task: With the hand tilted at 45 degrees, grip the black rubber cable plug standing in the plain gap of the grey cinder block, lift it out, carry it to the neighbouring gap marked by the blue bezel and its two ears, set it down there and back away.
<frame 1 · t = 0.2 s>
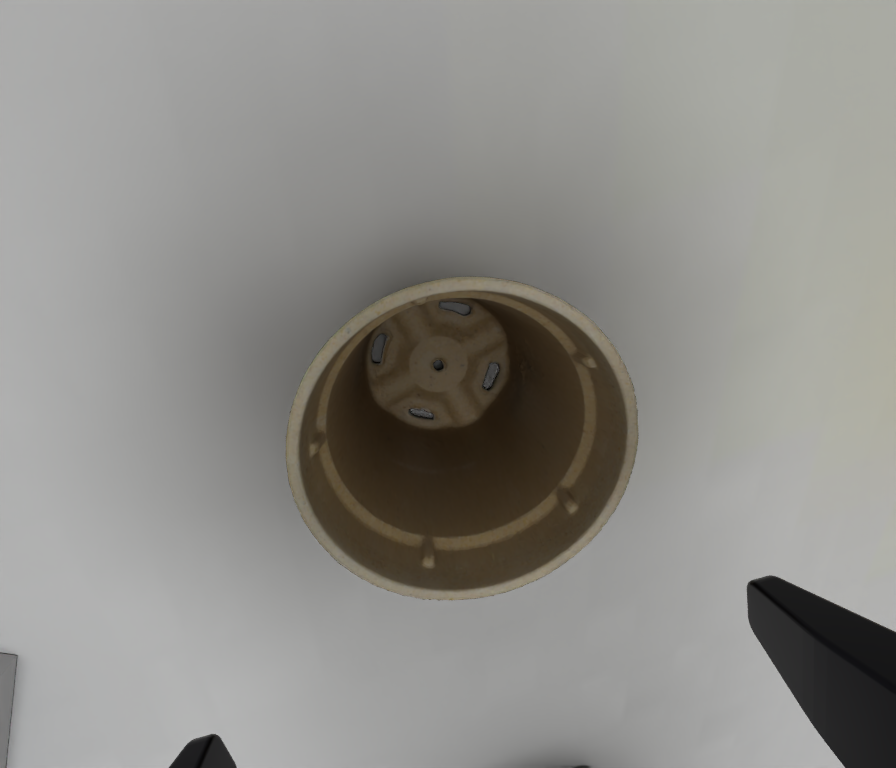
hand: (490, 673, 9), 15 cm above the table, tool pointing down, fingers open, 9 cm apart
flower pot: (437, 362, 22), on the table
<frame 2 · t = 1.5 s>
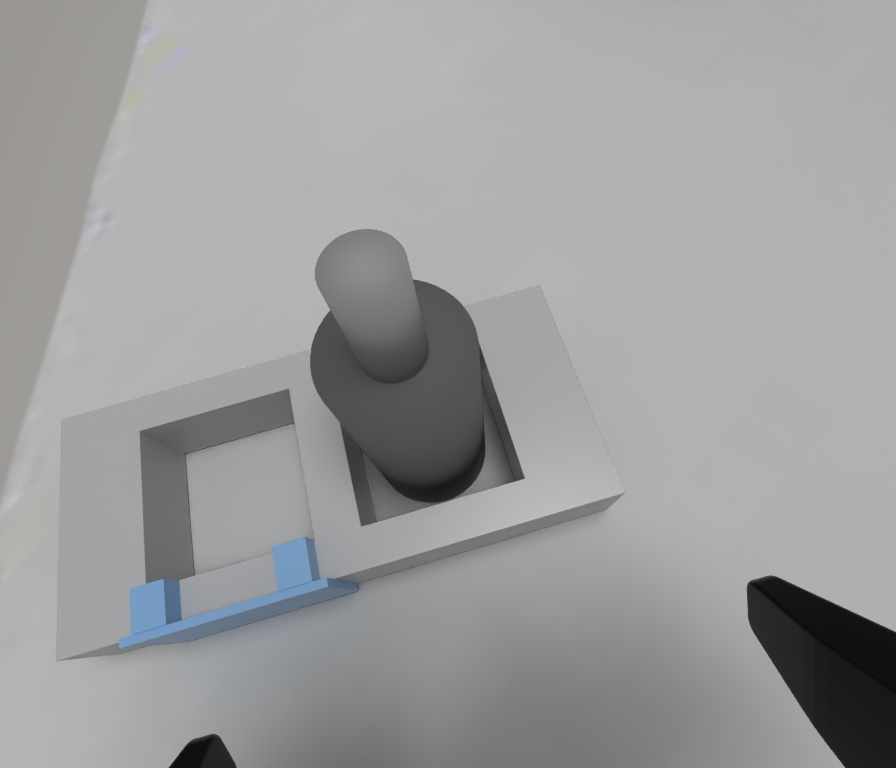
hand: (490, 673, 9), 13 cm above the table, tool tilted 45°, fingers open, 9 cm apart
plug: (432, 449, 24), resting in cinder block
cinder block: (345, 474, 24), on the table
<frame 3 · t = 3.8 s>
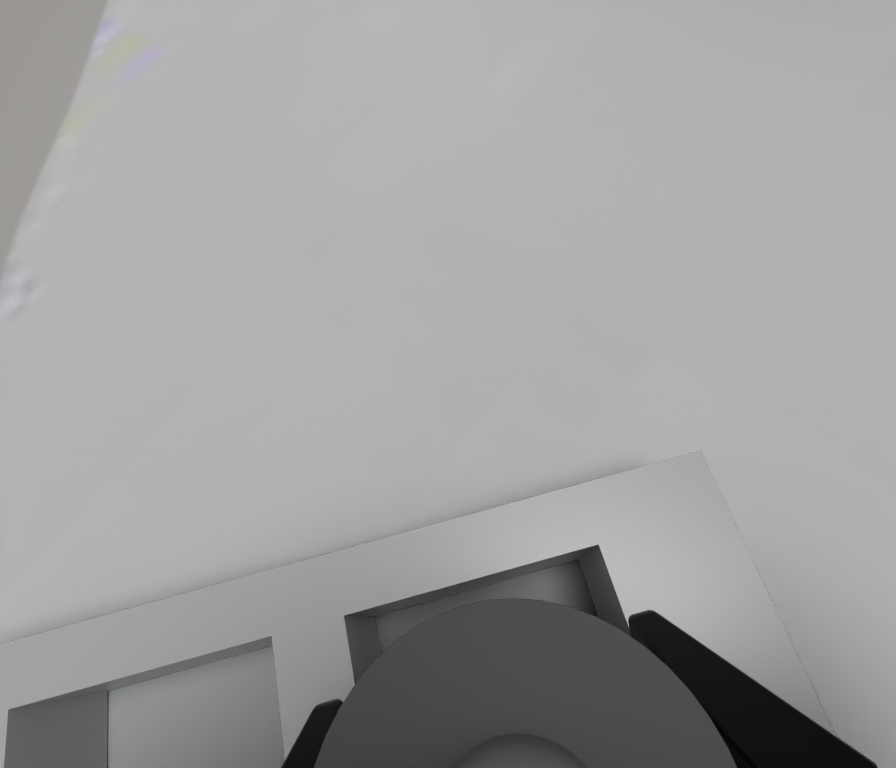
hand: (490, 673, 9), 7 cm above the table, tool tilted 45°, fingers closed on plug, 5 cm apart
plug: (507, 705, 15), resting in cinder block, touching gripper
cinder block: (365, 747, 15), on the table
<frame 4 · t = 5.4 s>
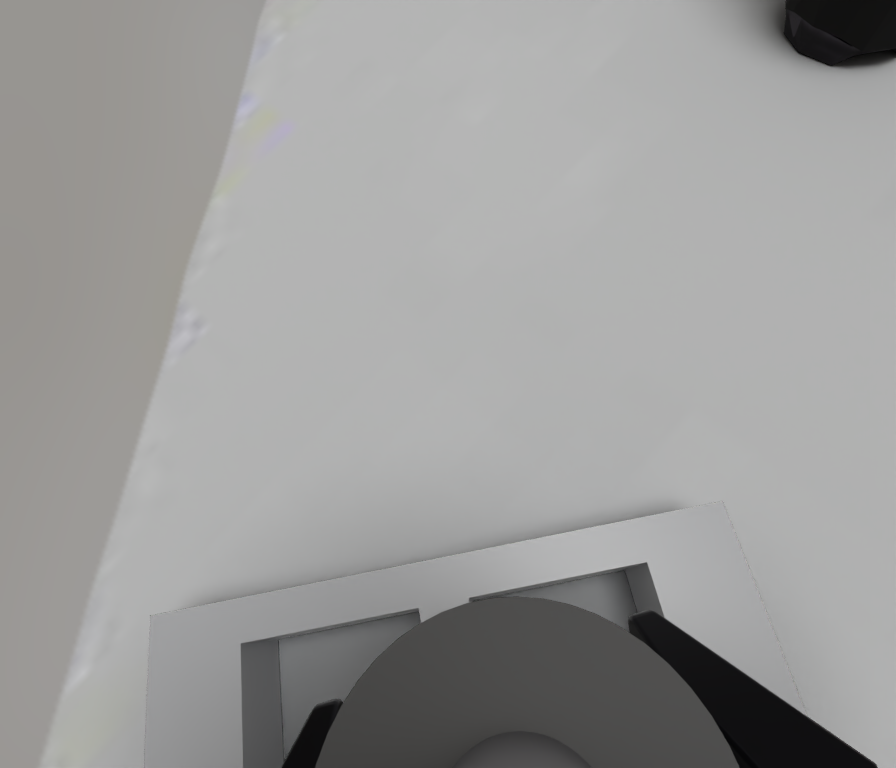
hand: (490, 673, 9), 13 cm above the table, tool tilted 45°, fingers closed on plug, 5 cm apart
plug: (508, 704, 15), point 6 cm above the table, touching gripper
cinder block: (466, 692, 20), on the table
portable speaker: (843, 29, 33), on the table
when the fingers open (8 cm above the table, at t = 7.1 s): plug drops 1 cm, resting in cinder block.
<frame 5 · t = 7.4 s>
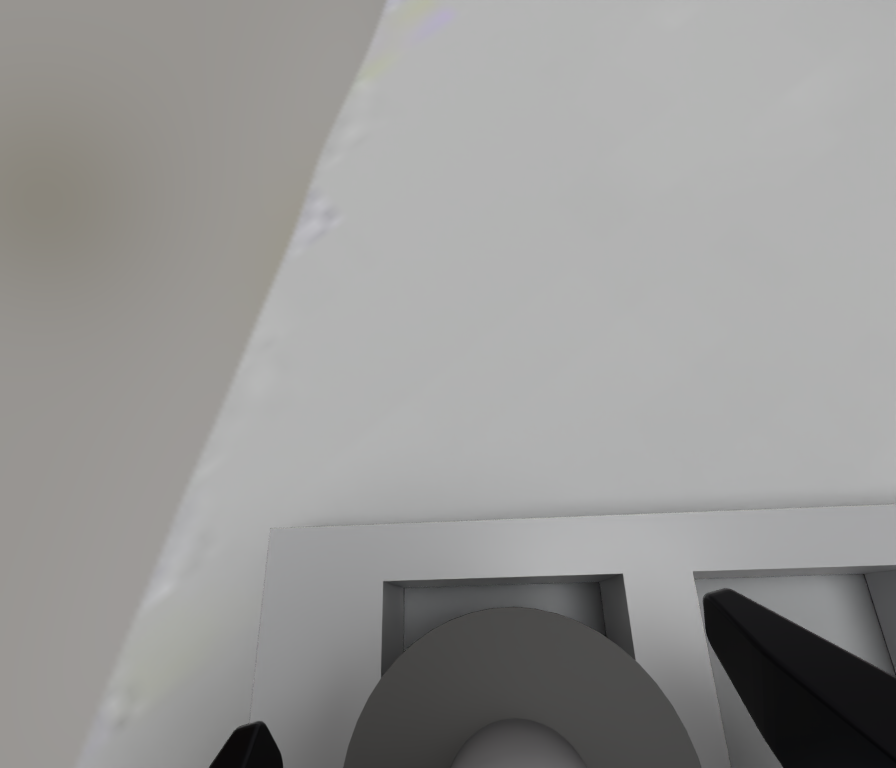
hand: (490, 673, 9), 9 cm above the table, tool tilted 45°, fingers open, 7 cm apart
plug: (507, 700, 16), resting in cinder block
cinder block: (644, 694, 16), on the table
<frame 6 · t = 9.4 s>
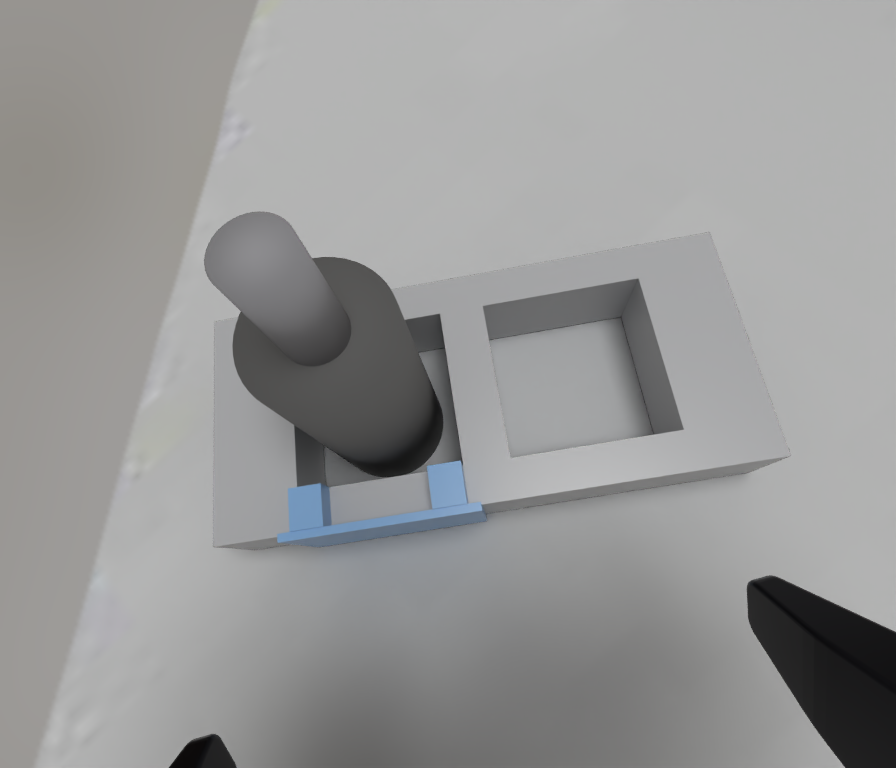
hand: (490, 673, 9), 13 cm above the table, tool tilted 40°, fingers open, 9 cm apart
plug: (390, 424, 24), resting in cinder block
cinder block: (478, 407, 24), on the table
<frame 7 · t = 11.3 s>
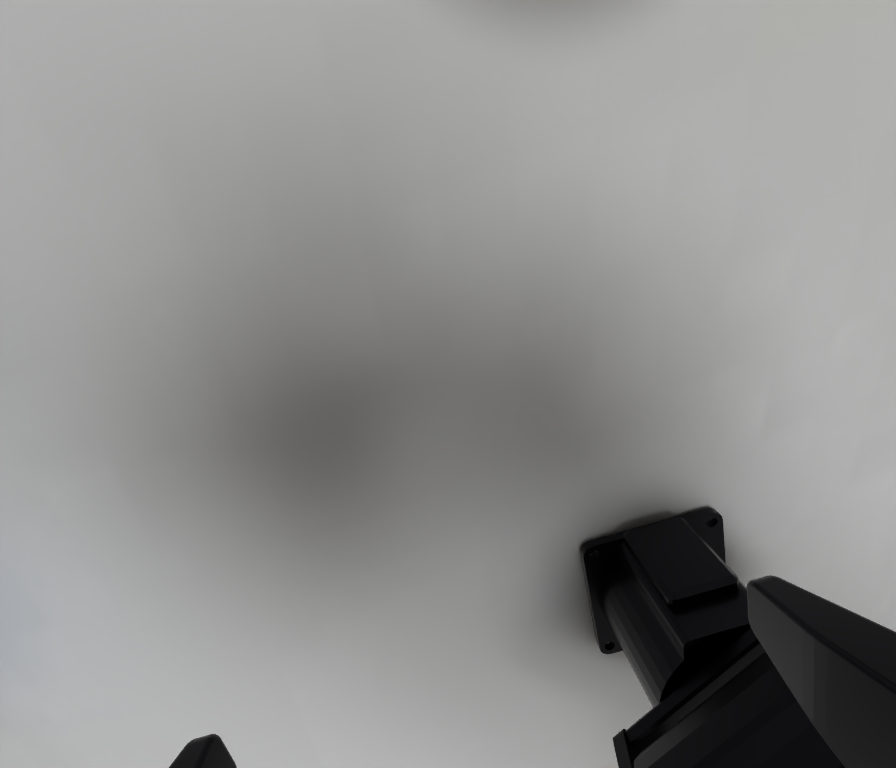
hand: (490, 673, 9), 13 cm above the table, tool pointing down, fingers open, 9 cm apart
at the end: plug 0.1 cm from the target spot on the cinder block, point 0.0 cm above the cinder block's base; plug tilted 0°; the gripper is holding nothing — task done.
